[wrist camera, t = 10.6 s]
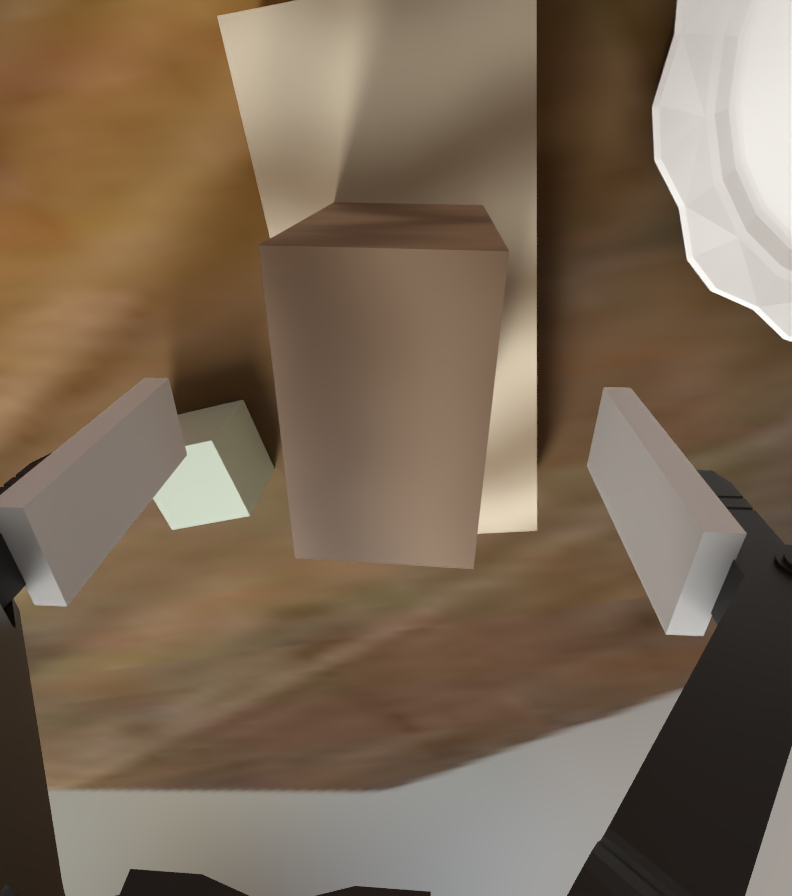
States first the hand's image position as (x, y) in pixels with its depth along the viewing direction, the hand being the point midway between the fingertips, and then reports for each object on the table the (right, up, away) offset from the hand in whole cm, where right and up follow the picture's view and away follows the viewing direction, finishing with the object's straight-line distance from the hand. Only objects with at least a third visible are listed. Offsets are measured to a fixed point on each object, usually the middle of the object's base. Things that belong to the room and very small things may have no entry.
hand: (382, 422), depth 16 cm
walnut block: (+1, +5, +7) cm, 9 cm away
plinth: (+2, +7, +12) cm, 14 cm away
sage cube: (-10, 0, +17) cm, 20 cm away
